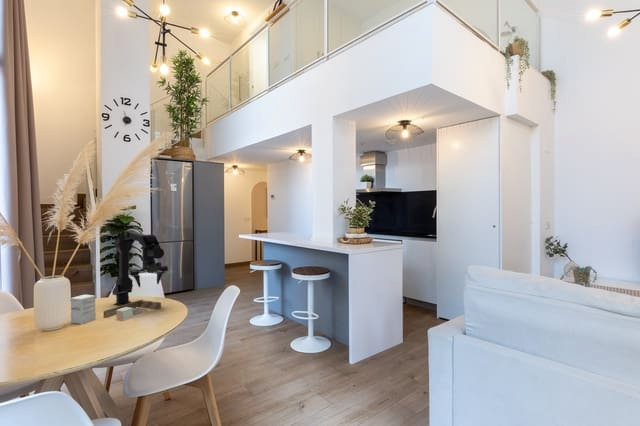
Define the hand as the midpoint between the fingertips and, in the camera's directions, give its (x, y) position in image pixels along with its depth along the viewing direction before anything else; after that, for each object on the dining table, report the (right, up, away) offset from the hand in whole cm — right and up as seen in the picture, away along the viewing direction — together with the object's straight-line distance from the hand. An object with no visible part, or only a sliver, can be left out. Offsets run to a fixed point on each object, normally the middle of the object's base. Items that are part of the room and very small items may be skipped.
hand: (148, 285), depth 171 cm
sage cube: (-6, -14, -12) cm, 19 cm away
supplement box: (-25, -15, -15) cm, 32 cm away
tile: (-7, -14, -1) cm, 16 cm away
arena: (-7, -14, -3) cm, 16 cm away
